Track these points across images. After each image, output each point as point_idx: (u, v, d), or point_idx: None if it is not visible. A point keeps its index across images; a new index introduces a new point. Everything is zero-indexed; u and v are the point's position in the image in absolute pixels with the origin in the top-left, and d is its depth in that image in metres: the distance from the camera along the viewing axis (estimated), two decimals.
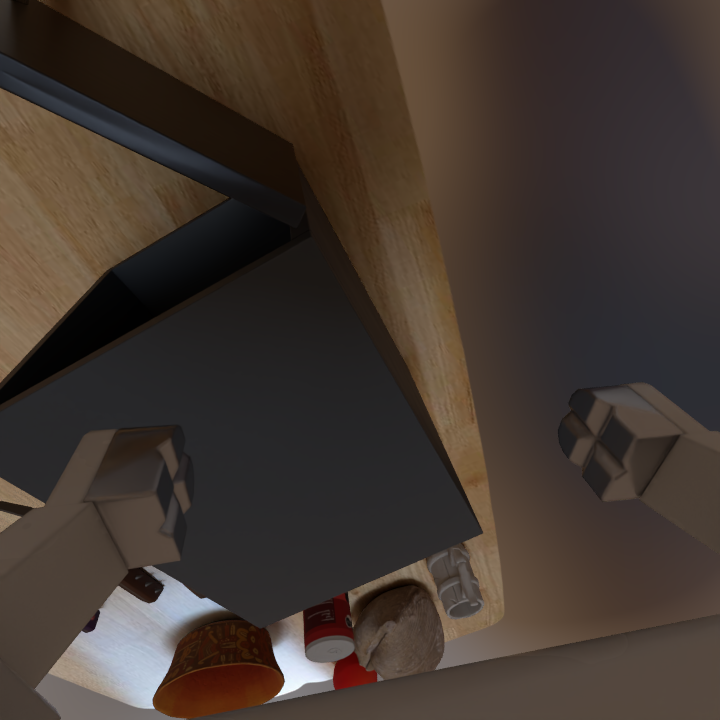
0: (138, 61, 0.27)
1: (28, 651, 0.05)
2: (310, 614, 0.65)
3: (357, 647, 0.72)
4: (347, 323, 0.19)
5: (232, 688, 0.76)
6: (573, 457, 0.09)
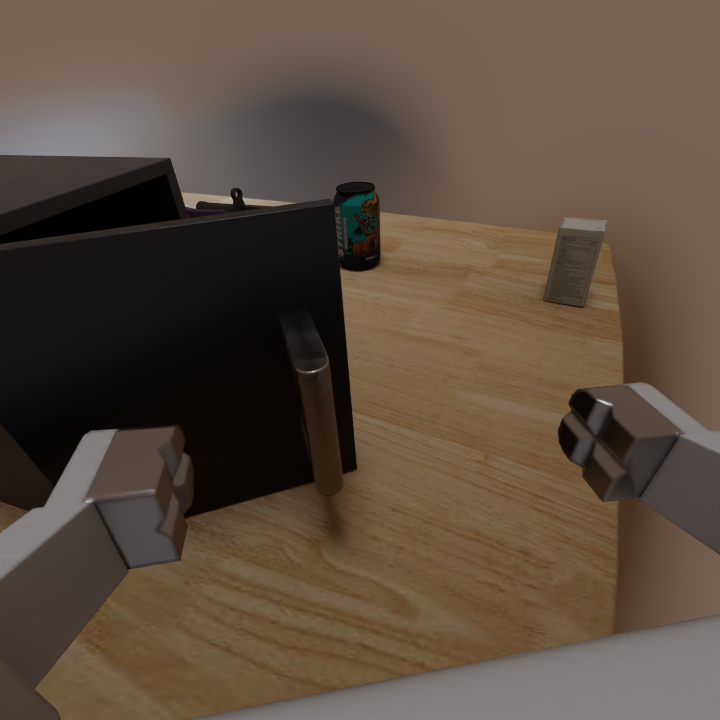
0: (243, 476, 0.31)
1: (28, 651, 0.05)
2: None
3: None
4: None
5: None
6: (573, 457, 0.09)
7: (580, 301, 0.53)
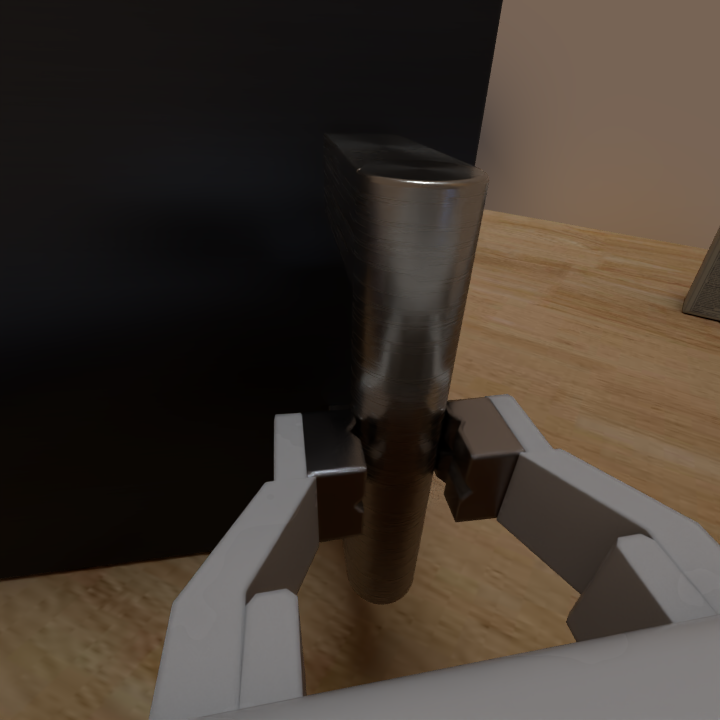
0: (204, 509, 0.16)
1: None
2: None
3: None
4: None
5: None
6: (438, 473, 0.08)
7: None
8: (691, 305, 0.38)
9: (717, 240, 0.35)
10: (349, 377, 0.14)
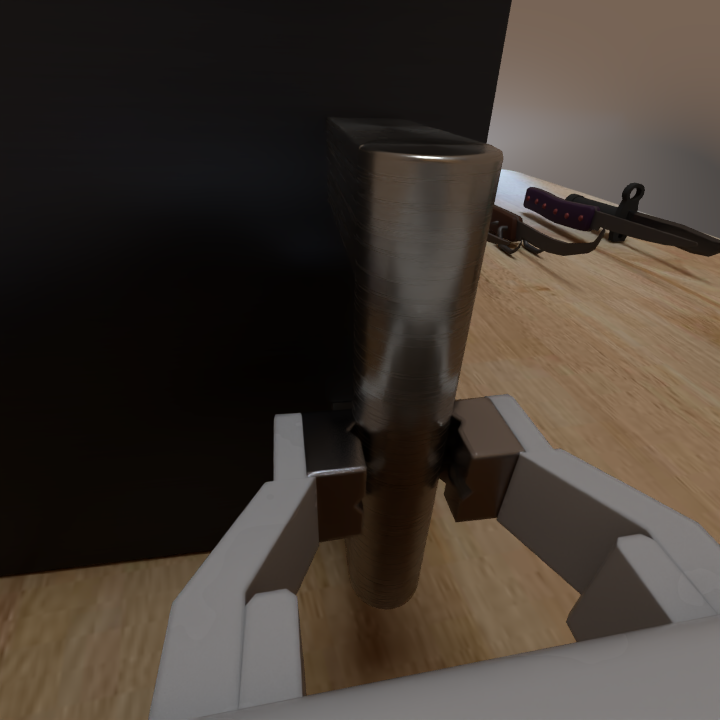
0: (205, 508, 0.16)
1: None
2: None
3: None
4: None
5: None
6: None
7: None
8: None
9: None
10: (353, 373, 0.13)
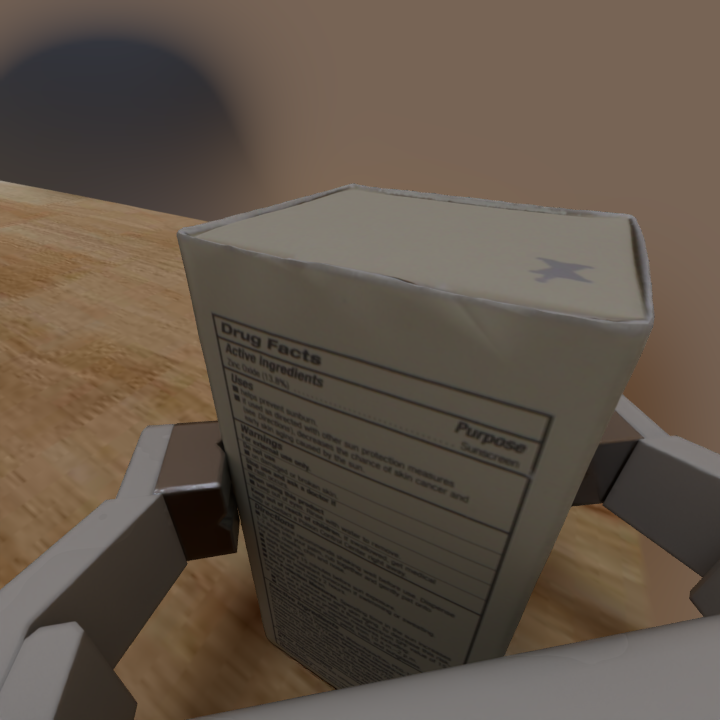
0: None
1: (106, 638, 0.05)
2: None
3: None
4: None
5: None
6: None
7: None
8: (272, 629, 0.09)
9: None
10: None
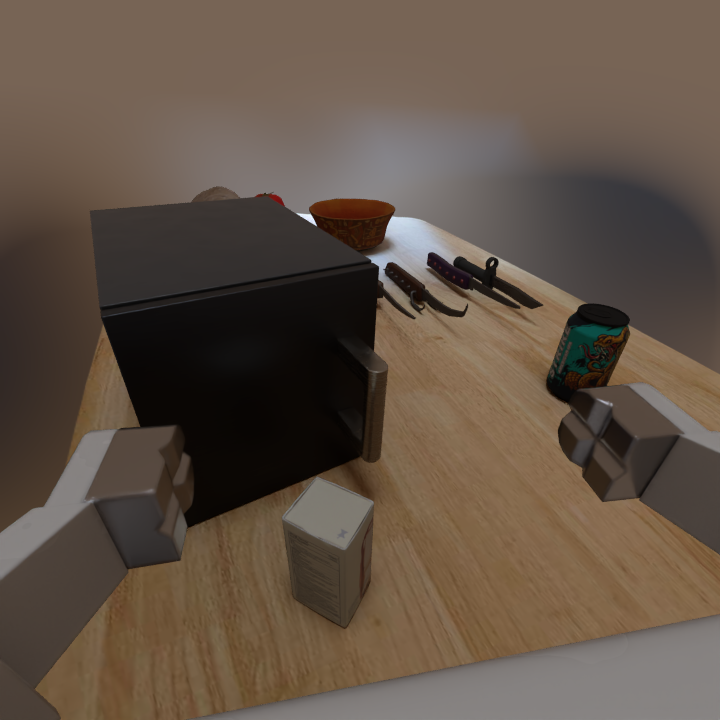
0: (292, 464, 0.40)
1: (28, 651, 0.05)
2: None
3: None
4: (106, 280, 0.29)
5: (350, 212, 1.09)
6: (573, 457, 0.09)
7: (339, 620, 0.30)
8: (295, 594, 0.32)
9: (286, 544, 0.29)
10: (343, 400, 0.39)
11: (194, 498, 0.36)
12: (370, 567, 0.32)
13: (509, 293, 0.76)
